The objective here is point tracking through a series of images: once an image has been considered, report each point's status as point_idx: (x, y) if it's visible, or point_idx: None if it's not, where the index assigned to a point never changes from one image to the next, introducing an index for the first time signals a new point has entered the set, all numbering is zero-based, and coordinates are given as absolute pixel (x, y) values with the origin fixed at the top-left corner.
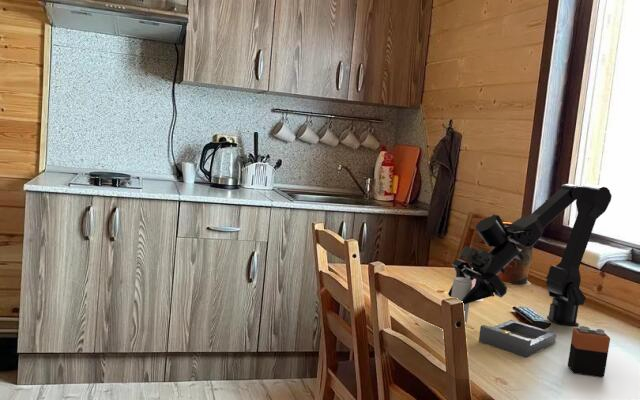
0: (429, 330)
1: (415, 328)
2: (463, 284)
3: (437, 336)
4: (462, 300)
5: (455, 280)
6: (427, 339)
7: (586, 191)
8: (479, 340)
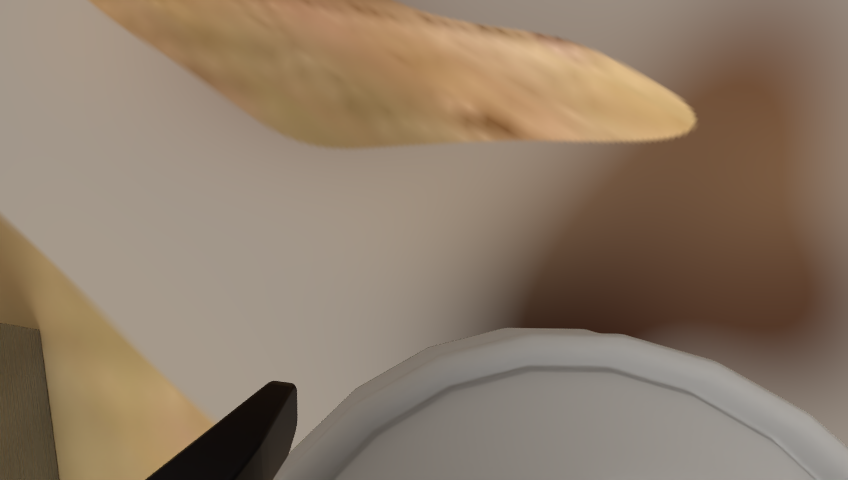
0: (357, 128)
1: (411, 66)
2: (280, 474)
3: (245, 110)
4: (280, 391)
5: (604, 355)
6: (224, 24)
7: None
8: (22, 331)
